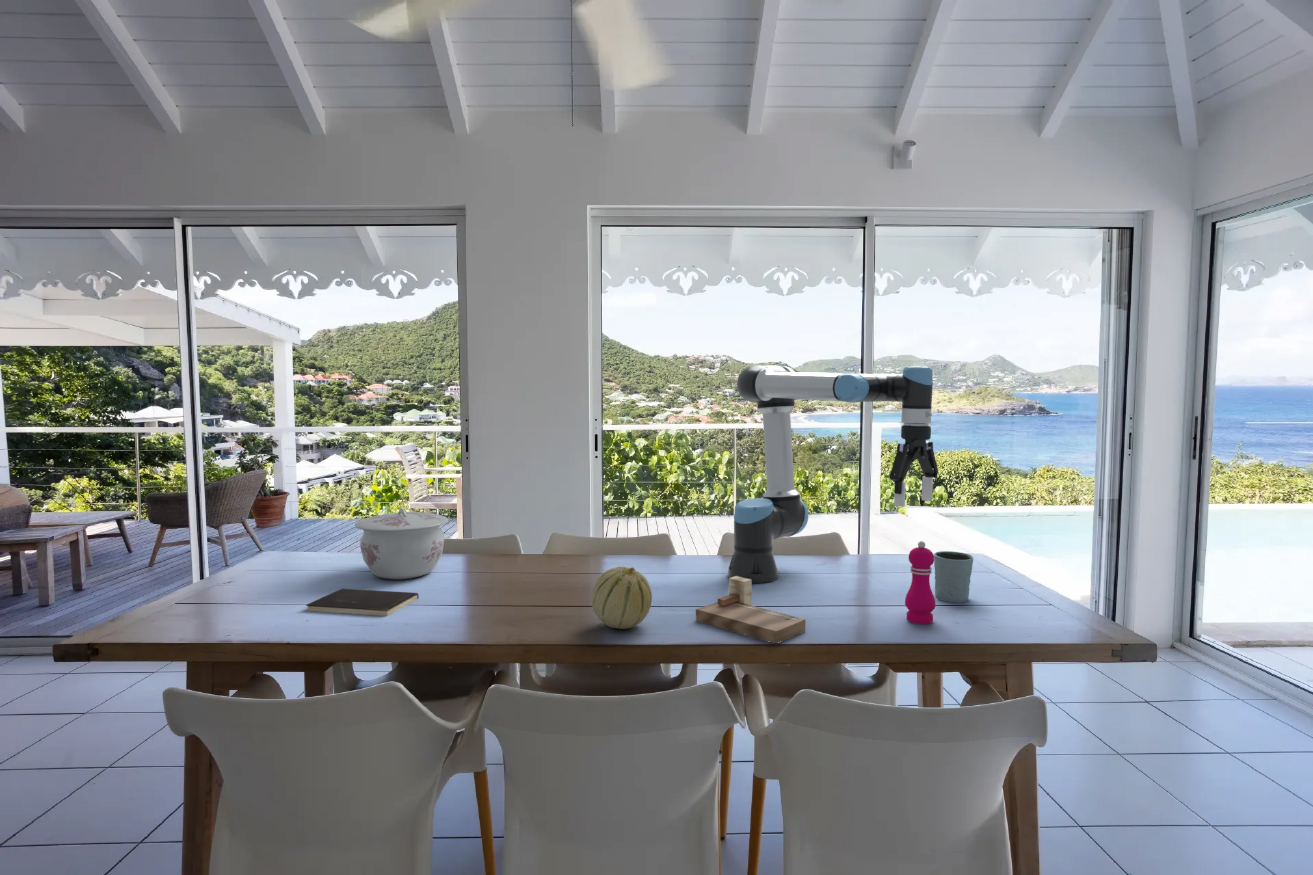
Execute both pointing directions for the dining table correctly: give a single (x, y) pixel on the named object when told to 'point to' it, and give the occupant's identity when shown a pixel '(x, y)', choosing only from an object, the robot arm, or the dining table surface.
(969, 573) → the green ceramic cup
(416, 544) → the chamber pot
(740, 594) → the marking gauge
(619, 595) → the cantaloupe
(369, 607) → the hardcover book
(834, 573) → the dining table surface
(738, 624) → the walnut board
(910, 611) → the pepper mill
